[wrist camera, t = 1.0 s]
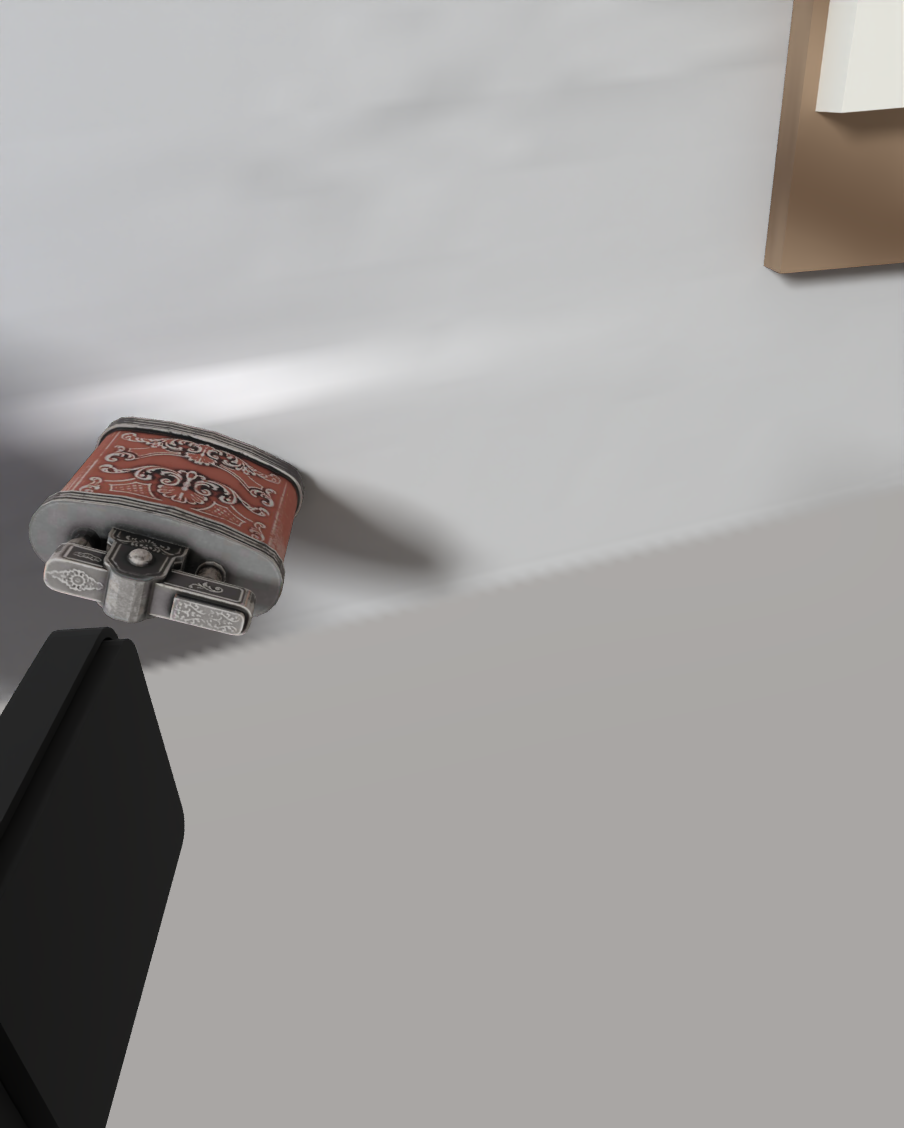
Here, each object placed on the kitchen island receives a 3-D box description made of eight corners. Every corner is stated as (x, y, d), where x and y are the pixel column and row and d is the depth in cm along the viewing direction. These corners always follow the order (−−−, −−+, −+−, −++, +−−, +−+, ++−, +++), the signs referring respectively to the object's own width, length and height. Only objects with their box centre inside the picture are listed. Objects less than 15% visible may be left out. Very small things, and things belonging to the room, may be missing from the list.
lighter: (96, 476, 33) (-11, 615, 24) (108, 399, 31) (-1, 518, 23) (292, 532, 35) (258, 679, 26) (313, 461, 33) (284, 593, 25)
